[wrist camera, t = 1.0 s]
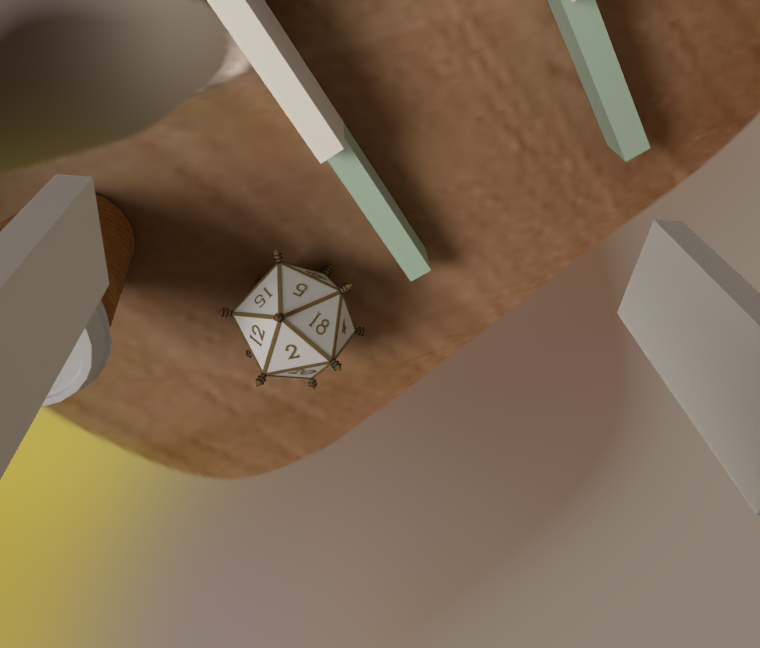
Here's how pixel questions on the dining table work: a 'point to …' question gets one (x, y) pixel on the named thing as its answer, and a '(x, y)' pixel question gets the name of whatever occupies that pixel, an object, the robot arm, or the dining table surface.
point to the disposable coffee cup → (96, 335)
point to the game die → (294, 322)
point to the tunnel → (337, 145)
